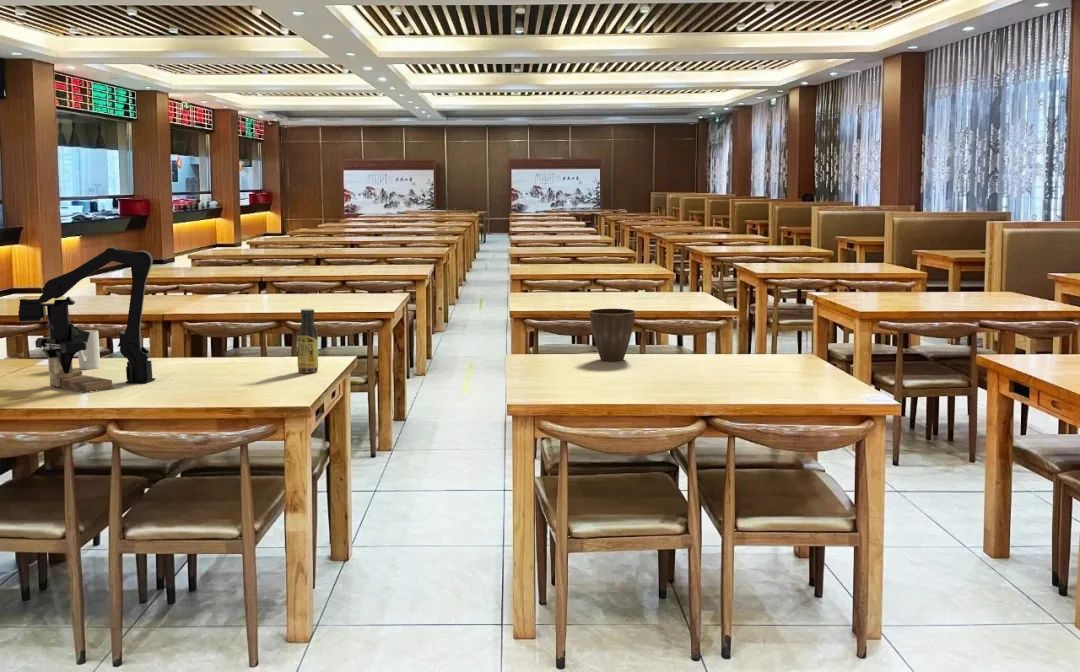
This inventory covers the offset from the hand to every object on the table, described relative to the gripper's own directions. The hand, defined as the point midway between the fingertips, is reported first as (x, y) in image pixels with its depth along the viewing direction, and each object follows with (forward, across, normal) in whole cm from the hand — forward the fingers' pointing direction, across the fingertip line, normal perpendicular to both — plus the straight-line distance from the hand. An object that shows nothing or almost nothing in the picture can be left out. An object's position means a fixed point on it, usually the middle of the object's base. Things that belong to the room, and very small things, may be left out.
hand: (62, 372), depth 322 cm
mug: (+4, +24, -21) cm, 32 cm away
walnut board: (+4, -6, -2) cm, 7 cm away
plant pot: (+4, -109, -128) cm, 168 cm away
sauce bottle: (+4, -43, -57) cm, 71 cm away
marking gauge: (+3, 0, -1) cm, 4 cm away
